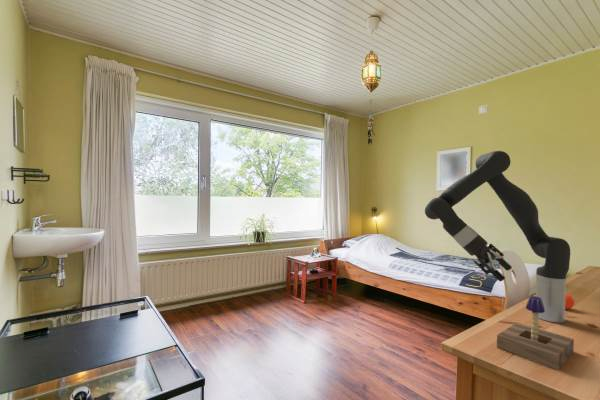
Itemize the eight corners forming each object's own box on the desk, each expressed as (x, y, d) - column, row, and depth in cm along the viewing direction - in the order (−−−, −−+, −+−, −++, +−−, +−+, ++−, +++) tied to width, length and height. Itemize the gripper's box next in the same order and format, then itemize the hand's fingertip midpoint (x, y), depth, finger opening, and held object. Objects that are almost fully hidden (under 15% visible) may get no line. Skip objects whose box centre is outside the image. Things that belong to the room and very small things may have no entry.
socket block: (516, 333, 105) (517, 322, 105) (573, 351, 93) (573, 339, 93) (496, 347, 94) (497, 334, 94) (557, 369, 82) (558, 355, 82)
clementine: (553, 304, 139) (553, 289, 139) (573, 307, 134) (573, 292, 134) (553, 308, 133) (553, 292, 133) (574, 312, 128) (575, 296, 128)
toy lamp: (547, 354, 90) (548, 300, 90) (529, 352, 91) (531, 298, 91) (537, 347, 95) (539, 295, 95) (521, 345, 96) (523, 294, 96)
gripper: (470, 241, 104) (509, 278, 98) (483, 227, 113) (520, 260, 107) (455, 252, 109) (492, 288, 103) (469, 238, 118) (503, 270, 112)
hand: (506, 274), depth 105 cm, fingers open, 8 cm apart
